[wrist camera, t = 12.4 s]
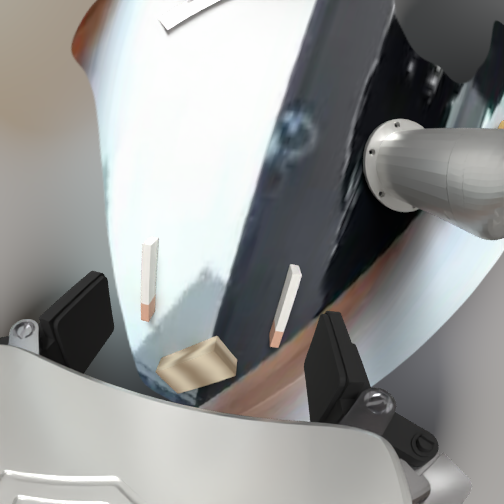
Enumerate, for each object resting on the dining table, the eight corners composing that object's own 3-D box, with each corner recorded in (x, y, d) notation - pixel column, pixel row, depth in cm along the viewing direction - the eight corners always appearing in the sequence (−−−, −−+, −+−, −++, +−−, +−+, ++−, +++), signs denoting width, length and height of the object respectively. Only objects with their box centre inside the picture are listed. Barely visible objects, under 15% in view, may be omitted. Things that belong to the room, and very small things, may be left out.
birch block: (217, 334, 41) (213, 350, 37) (237, 358, 43) (235, 375, 39) (161, 356, 44) (155, 372, 40) (182, 378, 45) (177, 393, 42)
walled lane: (298, 265, 36) (301, 275, 34) (277, 335, 41) (278, 347, 38) (150, 236, 35) (142, 243, 33) (147, 309, 40) (141, 319, 37)
